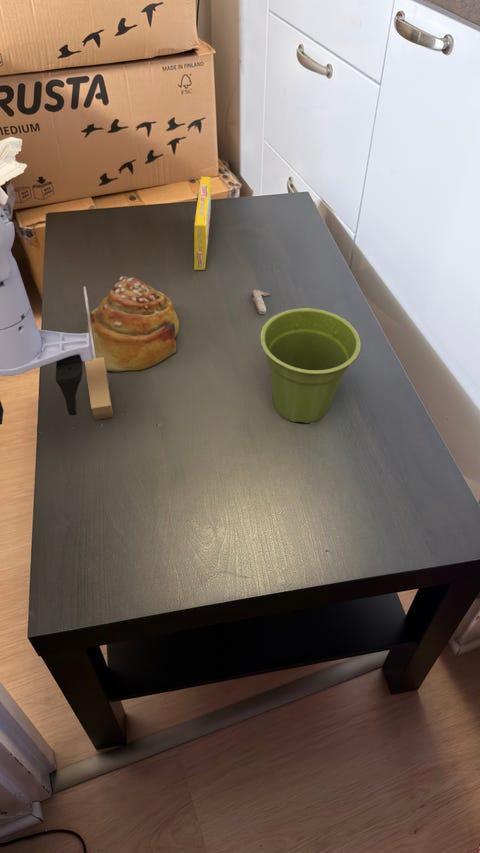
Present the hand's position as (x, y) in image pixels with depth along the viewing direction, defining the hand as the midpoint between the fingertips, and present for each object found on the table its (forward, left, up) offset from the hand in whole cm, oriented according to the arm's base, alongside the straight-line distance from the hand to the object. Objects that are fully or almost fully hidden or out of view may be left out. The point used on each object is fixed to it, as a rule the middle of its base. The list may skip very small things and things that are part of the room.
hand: (36, 413), depth 66 cm
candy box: (+23, +47, -11) cm, 53 cm away
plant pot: (+31, +7, -11) cm, 34 cm away
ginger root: (+30, +29, -11) cm, 43 cm away
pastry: (+10, +24, -11) cm, 28 cm away
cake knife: (+5, +17, -7) cm, 19 cm away
